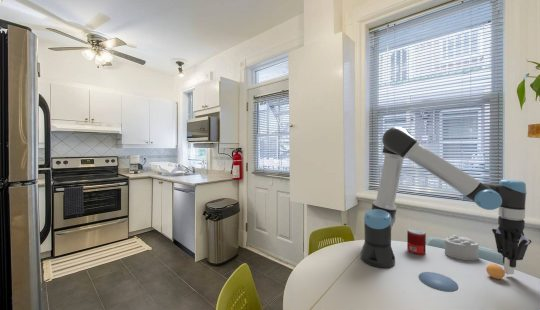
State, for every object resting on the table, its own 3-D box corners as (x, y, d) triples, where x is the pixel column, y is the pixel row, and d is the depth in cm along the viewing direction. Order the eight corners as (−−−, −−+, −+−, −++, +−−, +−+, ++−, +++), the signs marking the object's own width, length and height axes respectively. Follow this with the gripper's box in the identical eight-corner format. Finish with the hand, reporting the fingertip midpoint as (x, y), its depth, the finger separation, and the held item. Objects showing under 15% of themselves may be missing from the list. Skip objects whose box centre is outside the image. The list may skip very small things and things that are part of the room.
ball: (482, 274, 98) (482, 261, 98) (494, 273, 98) (494, 261, 98) (495, 282, 92) (496, 268, 92) (508, 281, 93) (509, 268, 92)
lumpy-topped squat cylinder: (482, 259, 110) (482, 242, 109) (454, 260, 110) (455, 242, 110) (463, 249, 120) (464, 233, 120) (438, 250, 120) (439, 234, 120)
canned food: (428, 255, 115) (428, 234, 114) (410, 254, 116) (410, 233, 116) (421, 248, 122) (421, 228, 122) (405, 247, 124) (405, 227, 123)
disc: (411, 273, 100) (411, 272, 100) (440, 271, 101) (440, 271, 101) (434, 292, 87) (434, 291, 87) (467, 290, 88) (467, 289, 88)
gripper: (539, 222, 88) (536, 282, 90) (502, 212, 101) (500, 264, 103) (521, 223, 88) (518, 283, 89) (486, 213, 101) (484, 265, 102)
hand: (508, 273), depth 96 cm, fingers closed
